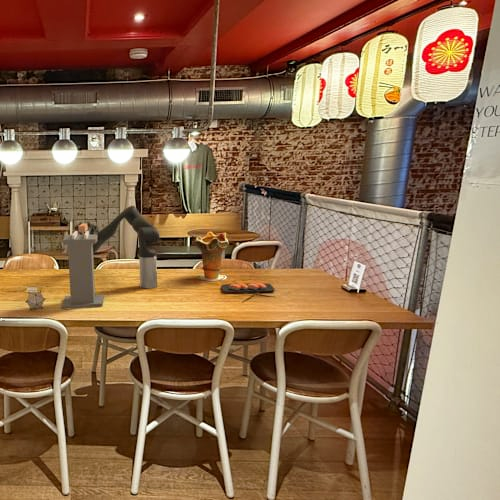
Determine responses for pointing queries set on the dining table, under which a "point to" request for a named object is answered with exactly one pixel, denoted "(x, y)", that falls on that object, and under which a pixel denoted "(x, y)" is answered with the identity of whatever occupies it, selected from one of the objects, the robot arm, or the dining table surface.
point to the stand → (81, 272)
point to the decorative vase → (212, 255)
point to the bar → (83, 227)
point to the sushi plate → (248, 288)
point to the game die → (35, 300)
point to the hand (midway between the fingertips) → (84, 223)
